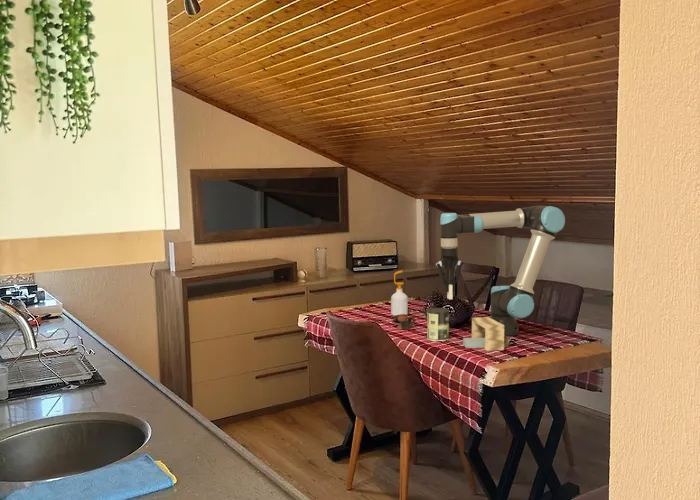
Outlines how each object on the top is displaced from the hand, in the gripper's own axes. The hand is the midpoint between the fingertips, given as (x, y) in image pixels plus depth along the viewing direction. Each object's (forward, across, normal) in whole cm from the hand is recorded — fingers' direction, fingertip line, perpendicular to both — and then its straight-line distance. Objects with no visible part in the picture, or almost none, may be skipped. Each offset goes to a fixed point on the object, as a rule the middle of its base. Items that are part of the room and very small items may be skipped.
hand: (449, 298), depth 306 cm
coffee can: (+21, +3, -9) cm, 23 cm away
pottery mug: (+21, +11, -35) cm, 42 cm away
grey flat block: (+22, -11, +7) cm, 25 cm away
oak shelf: (+21, -17, +8) cm, 28 cm away
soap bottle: (+21, +3, -67) cm, 70 cm away
